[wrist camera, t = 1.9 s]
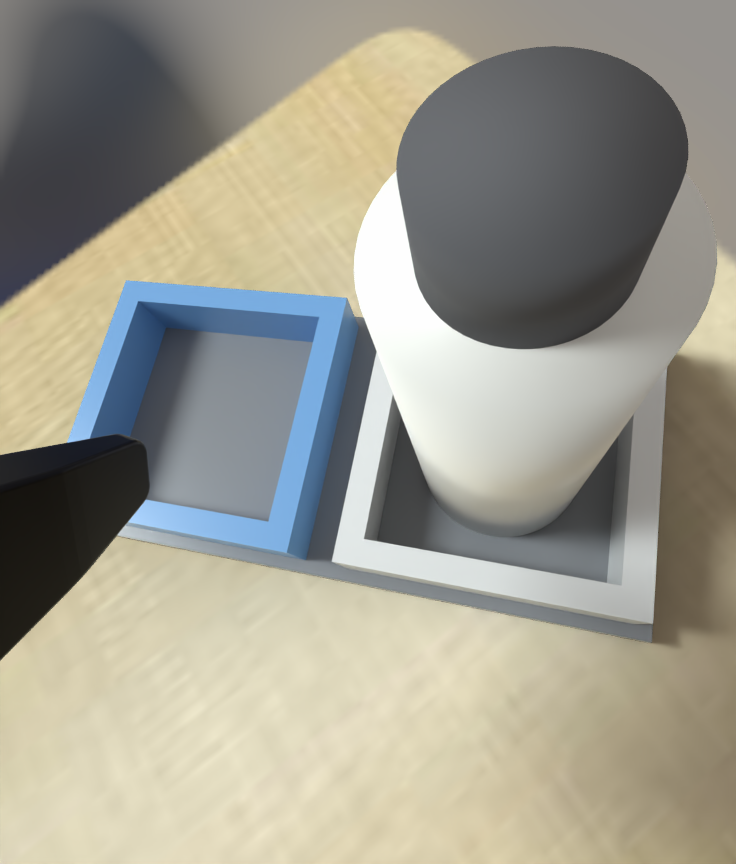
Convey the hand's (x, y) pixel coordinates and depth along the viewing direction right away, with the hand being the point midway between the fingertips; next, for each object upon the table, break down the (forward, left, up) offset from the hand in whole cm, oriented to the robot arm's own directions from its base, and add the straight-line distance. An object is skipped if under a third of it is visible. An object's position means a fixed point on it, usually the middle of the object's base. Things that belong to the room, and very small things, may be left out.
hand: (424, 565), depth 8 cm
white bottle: (+5, +1, -11) cm, 12 cm away
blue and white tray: (+3, +6, -11) cm, 13 cm away
